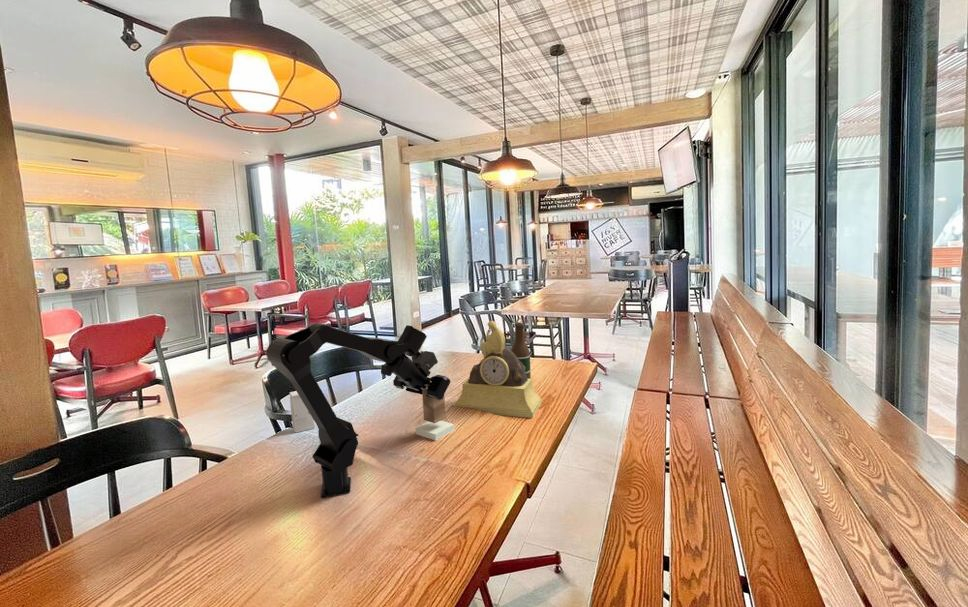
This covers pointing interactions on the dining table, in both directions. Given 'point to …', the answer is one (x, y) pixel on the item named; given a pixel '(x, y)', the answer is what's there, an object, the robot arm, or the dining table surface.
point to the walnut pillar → (433, 408)
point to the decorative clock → (499, 381)
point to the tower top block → (435, 430)
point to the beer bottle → (521, 348)
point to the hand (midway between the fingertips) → (436, 396)
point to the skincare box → (300, 414)
